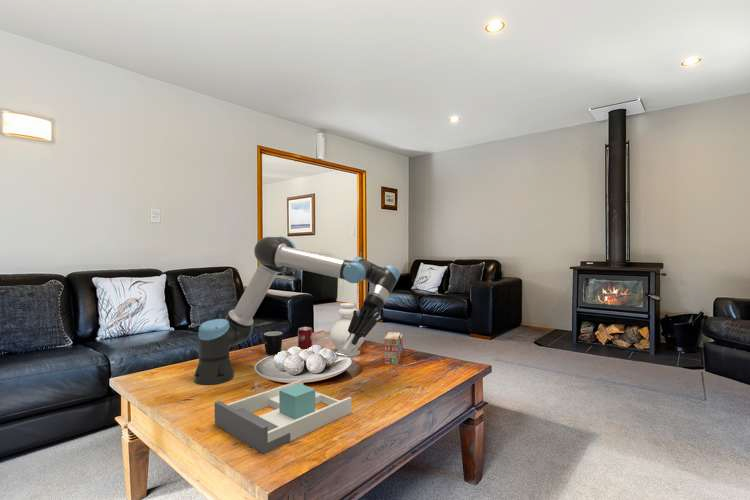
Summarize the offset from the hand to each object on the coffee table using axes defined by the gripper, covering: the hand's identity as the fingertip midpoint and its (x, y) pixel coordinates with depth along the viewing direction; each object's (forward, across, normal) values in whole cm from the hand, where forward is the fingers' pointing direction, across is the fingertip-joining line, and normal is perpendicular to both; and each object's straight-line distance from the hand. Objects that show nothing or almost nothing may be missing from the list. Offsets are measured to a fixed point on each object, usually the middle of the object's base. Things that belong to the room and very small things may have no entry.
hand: (346, 351), depth 142 cm
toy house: (-23, +18, -49) cm, 57 cm away
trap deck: (+29, +4, +5) cm, 30 cm away
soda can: (-8, +59, -33) cm, 68 cm away
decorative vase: (-17, +41, -42) cm, 61 cm away
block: (+26, 0, +5) cm, 26 cm away
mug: (+1, +67, -23) cm, 71 cm away
